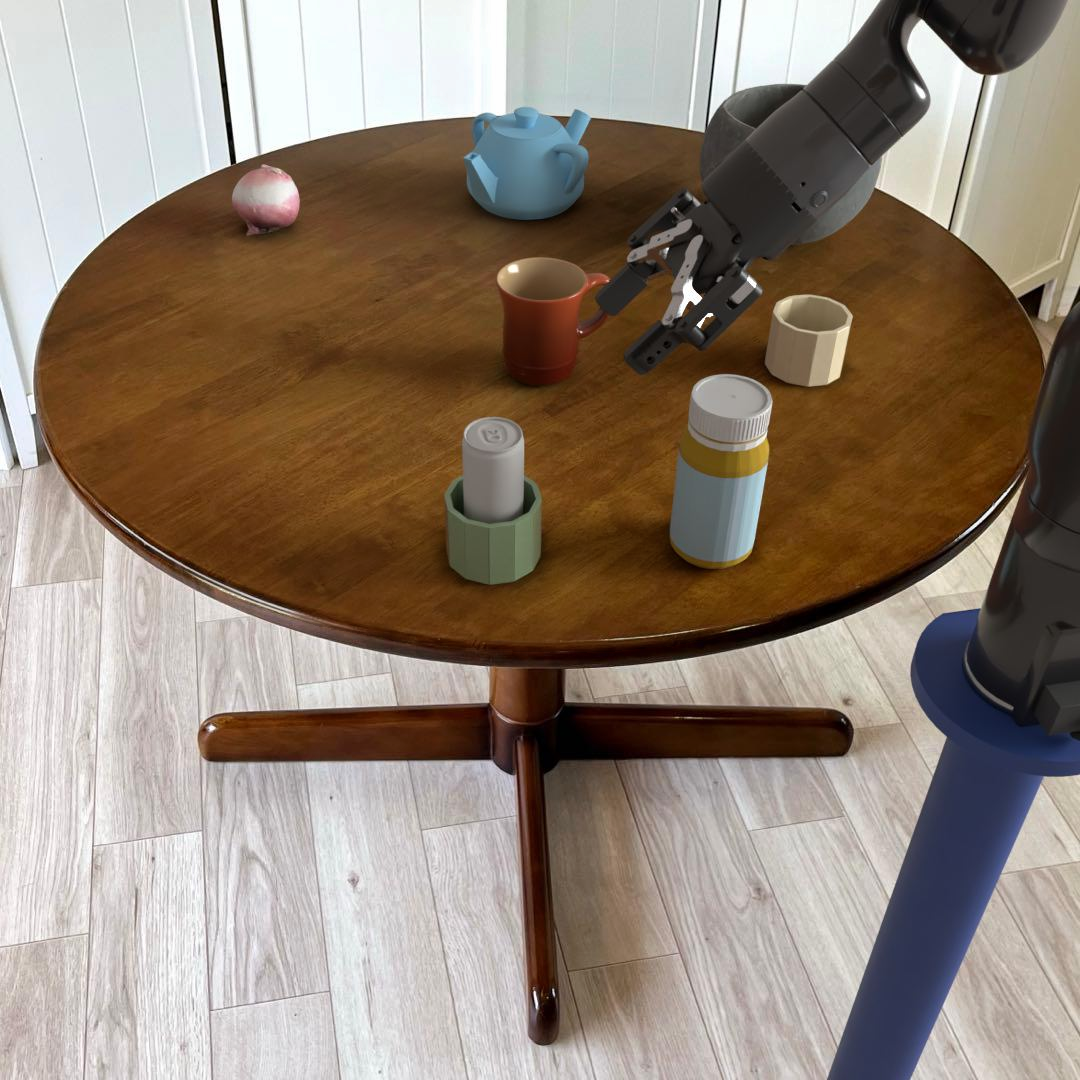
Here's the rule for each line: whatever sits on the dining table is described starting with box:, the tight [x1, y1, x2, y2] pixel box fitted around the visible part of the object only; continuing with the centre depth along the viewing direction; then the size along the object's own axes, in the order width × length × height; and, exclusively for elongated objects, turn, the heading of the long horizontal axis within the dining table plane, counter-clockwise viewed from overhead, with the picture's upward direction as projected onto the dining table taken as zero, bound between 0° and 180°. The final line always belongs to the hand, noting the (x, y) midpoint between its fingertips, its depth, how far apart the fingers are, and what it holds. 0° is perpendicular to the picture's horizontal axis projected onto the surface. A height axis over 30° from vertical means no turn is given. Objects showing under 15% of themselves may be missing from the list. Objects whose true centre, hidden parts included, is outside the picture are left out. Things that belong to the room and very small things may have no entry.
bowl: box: [699, 83, 883, 246], centre depth 143 cm, size 20×20×15 cm
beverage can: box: [461, 416, 525, 524], centre depth 98 cm, size 5×5×12 cm
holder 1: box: [443, 474, 543, 586], centre depth 100 cm, size 8×8×6 cm
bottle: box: [669, 373, 773, 570], centre depth 99 cm, size 7×7×15 cm
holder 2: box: [764, 293, 854, 388], centre depth 123 cm, size 8×8×6 cm
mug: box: [495, 256, 612, 387], centre depth 121 cm, size 12×9×10 cm
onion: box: [231, 163, 301, 237], centre depth 144 cm, size 8×8×7 cm
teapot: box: [462, 106, 592, 221], centre depth 150 cm, size 15×17×11 cm
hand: (616, 336), depth 91 cm, fingers open, 8 cm apart
